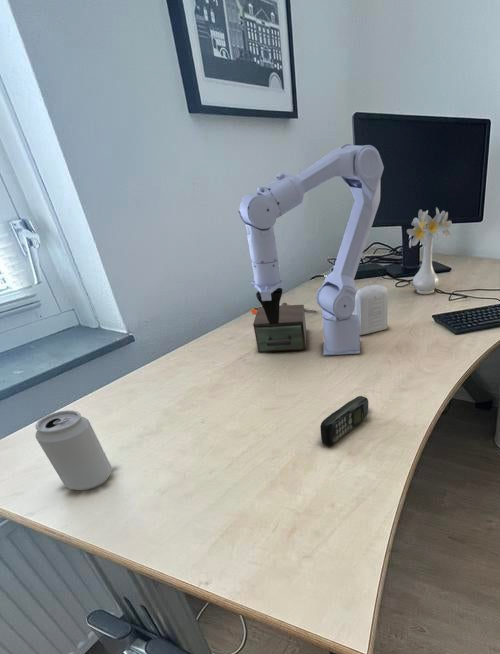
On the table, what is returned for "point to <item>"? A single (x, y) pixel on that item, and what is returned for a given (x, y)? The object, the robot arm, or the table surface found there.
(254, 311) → the headphones
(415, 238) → the flower vase
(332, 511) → the table surface
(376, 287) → the white rounded slab
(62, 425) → the can
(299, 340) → the drawer
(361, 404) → the mobile phone
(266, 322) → the cabinet
